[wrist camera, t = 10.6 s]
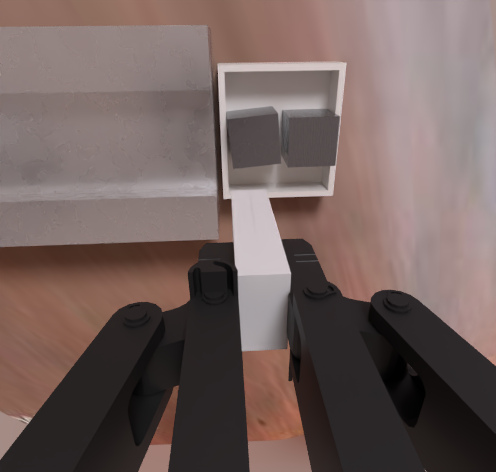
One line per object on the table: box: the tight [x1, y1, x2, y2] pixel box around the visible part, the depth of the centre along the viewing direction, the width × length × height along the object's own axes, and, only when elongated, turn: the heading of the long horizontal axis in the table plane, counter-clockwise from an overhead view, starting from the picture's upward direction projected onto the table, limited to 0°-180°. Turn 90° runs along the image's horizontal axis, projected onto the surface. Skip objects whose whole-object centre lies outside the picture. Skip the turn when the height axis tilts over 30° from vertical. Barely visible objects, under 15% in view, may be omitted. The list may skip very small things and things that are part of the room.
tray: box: [218, 62, 346, 199], centre depth 32 cm, size 11×10×3 cm
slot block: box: [0, 25, 220, 247], centre depth 30 cm, size 16×22×6 cm
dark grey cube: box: [281, 109, 340, 167], centre depth 31 cm, size 4×4×4 cm
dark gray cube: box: [227, 106, 281, 169], centre depth 31 cm, size 4×4×4 cm
